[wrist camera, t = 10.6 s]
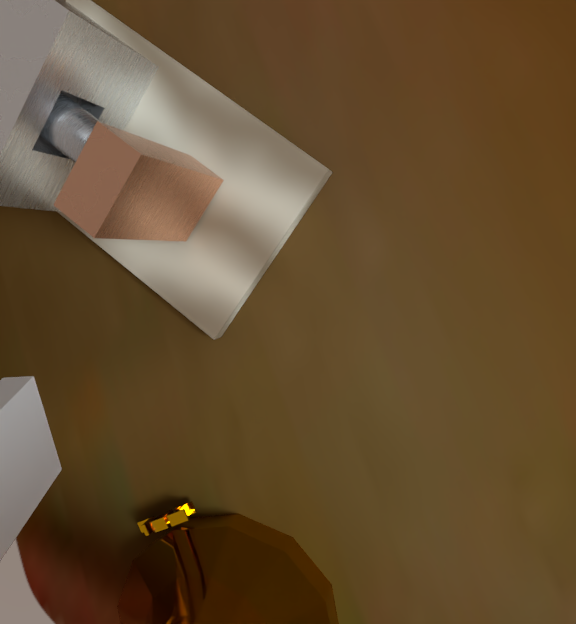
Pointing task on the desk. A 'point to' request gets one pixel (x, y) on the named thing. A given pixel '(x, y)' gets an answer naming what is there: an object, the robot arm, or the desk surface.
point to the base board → (228, 199)
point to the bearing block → (57, 90)
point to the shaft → (126, 179)
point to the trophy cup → (223, 575)
